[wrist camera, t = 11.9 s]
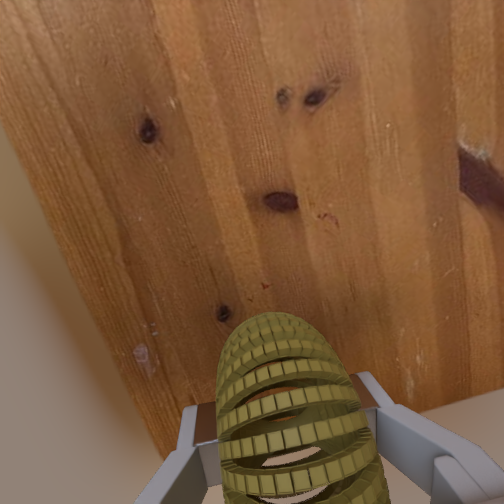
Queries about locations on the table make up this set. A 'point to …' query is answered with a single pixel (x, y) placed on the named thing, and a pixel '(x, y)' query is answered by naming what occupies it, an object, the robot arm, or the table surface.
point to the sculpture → (295, 429)
